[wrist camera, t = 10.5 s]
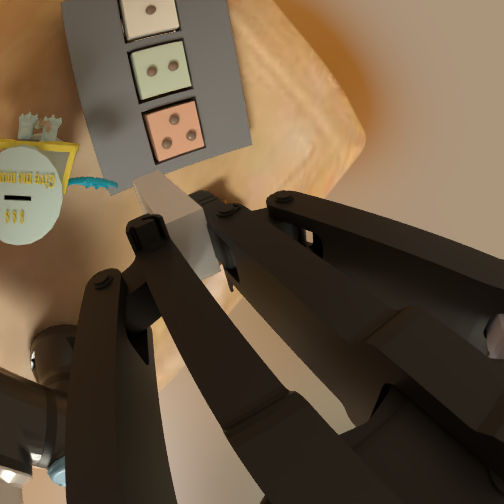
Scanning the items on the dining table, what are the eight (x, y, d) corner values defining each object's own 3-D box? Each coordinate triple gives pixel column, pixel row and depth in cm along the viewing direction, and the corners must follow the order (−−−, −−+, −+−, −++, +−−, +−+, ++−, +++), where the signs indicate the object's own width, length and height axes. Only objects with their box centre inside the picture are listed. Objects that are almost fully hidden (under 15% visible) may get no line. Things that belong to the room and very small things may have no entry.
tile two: (139, 99, 32) (143, 99, 29) (129, 56, 28) (132, 52, 26) (184, 87, 34) (192, 85, 31) (175, 45, 30) (182, 40, 28)
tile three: (154, 157, 36) (159, 162, 34) (142, 114, 33) (147, 115, 30) (196, 143, 38) (205, 146, 36) (187, 101, 35) (195, 101, 32)
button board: (109, 190, 35) (110, 196, 34) (62, 8, 21) (60, 2, 19) (243, 142, 42) (252, 144, 40) (212, -23, 27) (220, -29, 25)
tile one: (126, 42, 27) (129, 37, 25) (118, 3, 24) (121, -6, 21) (172, 31, 29) (179, 26, 27) (165, -7, 26) (172, -15, 23)
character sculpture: (123, 119, 32) (139, 125, 22) (107, 205, 36) (117, 251, 26) (-19, 109, 21) (-66, 115, 11) (-27, 198, 25) (-67, 242, 15)
